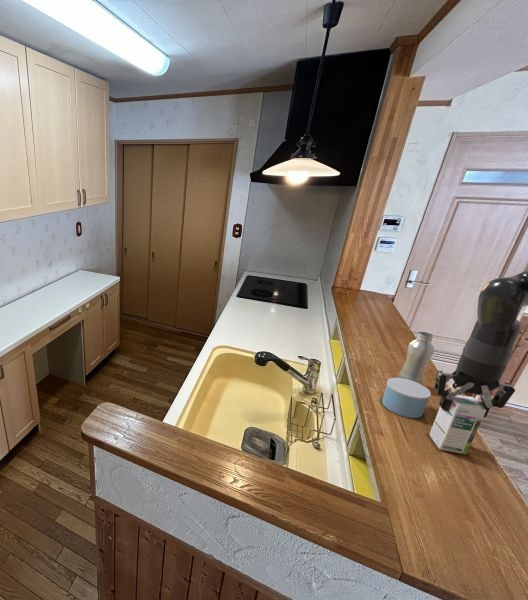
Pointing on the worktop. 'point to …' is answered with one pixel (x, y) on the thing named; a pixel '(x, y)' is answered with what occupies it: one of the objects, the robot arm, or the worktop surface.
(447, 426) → the syrup box
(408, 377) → the silver metal bottle
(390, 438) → the worktop surface
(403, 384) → the yogurt tub
